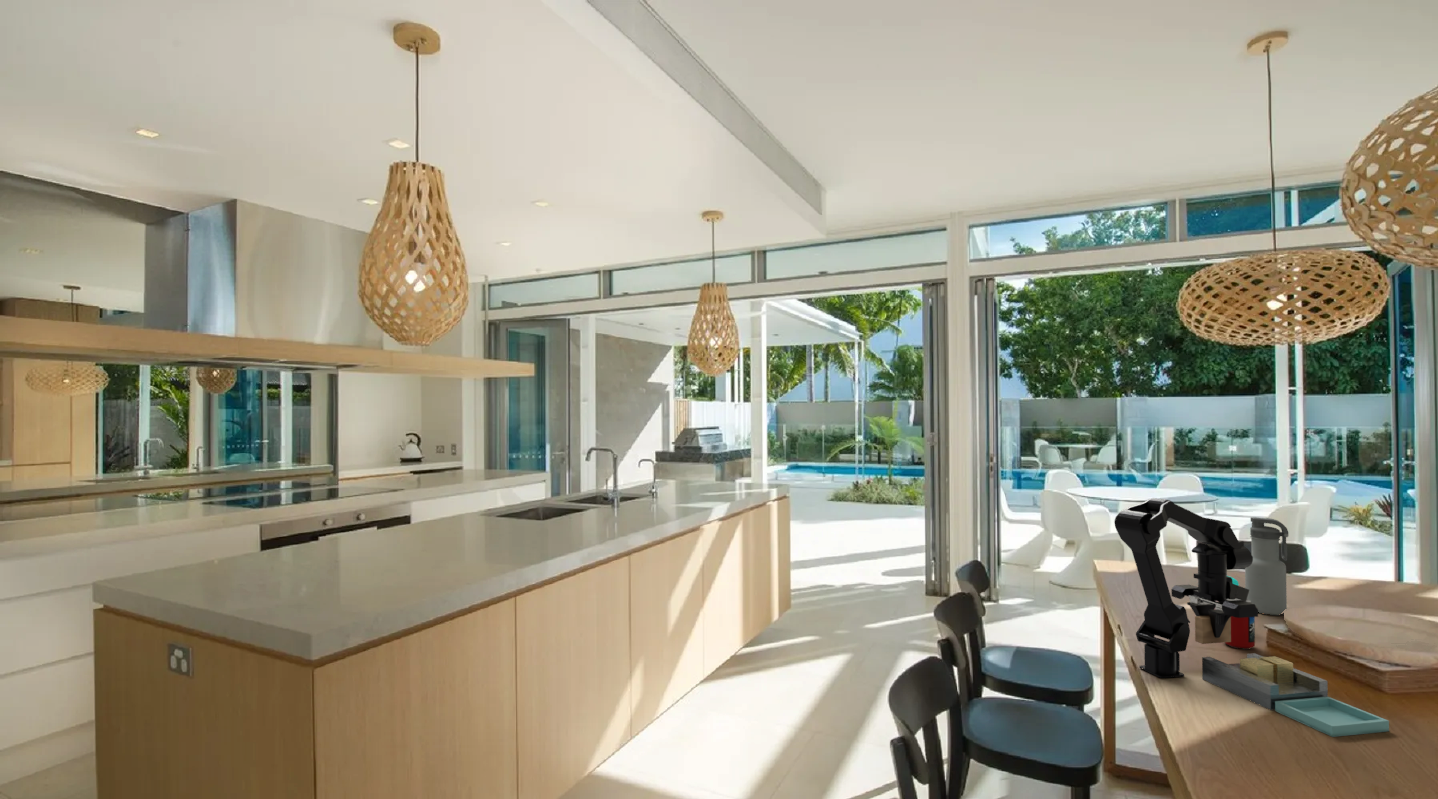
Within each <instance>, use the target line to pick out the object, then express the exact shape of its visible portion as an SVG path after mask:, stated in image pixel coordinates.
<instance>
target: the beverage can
mask: <svg viewBox="0 0 1438 799" xmlns="http://www.w3.org/2000/svg"><path fill="white" fill-rule="evenodd" d="M1234 600H1240V599H1227V601H1234ZM1246 602H1249V603H1251V601H1250V600H1248V599H1247V601H1246ZM1255 627H1256V617H1245V618H1237V617H1233V616H1231V642H1223V643H1224V644H1226V645H1227V646H1228V645H1229V646H1228V647H1231V648H1233V649H1238V648H1244V649H1243V650H1250V649H1251V648H1254V647H1255V644H1256V637H1255V636H1256V632H1255V631H1256V628H1255ZM1249 648H1250V649H1249Z"/></svg>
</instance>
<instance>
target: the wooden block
mask: <svg viewBox="0 0 1438 799" xmlns="http://www.w3.org/2000/svg"><path fill="white" fill-rule="evenodd" d="M1194 632H1195V634H1194V638H1195V639H1194V641H1195V642H1196V643H1198V644H1201V645H1207V644H1208V645H1209V644H1221V643H1224V642H1231V617H1230V618H1229V619H1228V621H1227V623H1226V625H1225V627H1224V629H1223V631H1222V634H1221V636H1220V637H1219V638H1215V636H1214V633H1213V630H1212V625H1211V621H1210V616H1196V615H1195V616H1194Z"/></svg>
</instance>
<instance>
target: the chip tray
mask: <svg viewBox="0 0 1438 799" xmlns="http://www.w3.org/2000/svg"><path fill="white" fill-rule="evenodd" d="M1274 712H1277V713H1279V714H1280V715H1283V716H1286V717H1288V718H1289V719H1292V720H1295V721H1296V722H1299V723H1301V724H1303V725H1305V726H1307V727H1309V728H1312V729H1314V730H1316V731H1318V732H1319V733H1320V732H1321V733H1323V734H1325V735H1328V736H1329V737H1332V738H1334V737H1336V738H1337V737H1343V736H1344V737H1345V736H1346V737H1347V736H1355V735H1356V736H1357V735H1363V734H1364V735H1366V734H1375V733H1386V732H1390V720H1388V719H1385V718H1383V717H1380V716H1378V715H1376V714H1373V713H1370V712H1368V711H1365V710H1363V709H1360V708H1358V707H1355V706H1354V705H1350V704H1348V703H1346V702H1343V701H1340V700H1338V699H1335V698H1332V697H1331V696H1328V697H1317V698H1306V699H1295V700H1284V701H1275V710H1274Z"/></svg>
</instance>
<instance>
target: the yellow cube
mask: <svg viewBox="0 0 1438 799" xmlns="http://www.w3.org/2000/svg"><path fill="white" fill-rule="evenodd" d="M1259 659H1260V660H1263V661H1265V662H1268V663H1270V664H1273V677H1274V682H1276V683H1285V682H1293V668H1294V663H1293V662H1291V661H1289V660H1286V659H1283V658H1280V657H1278V656H1275V655H1273V656H1263V657H1259Z"/></svg>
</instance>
